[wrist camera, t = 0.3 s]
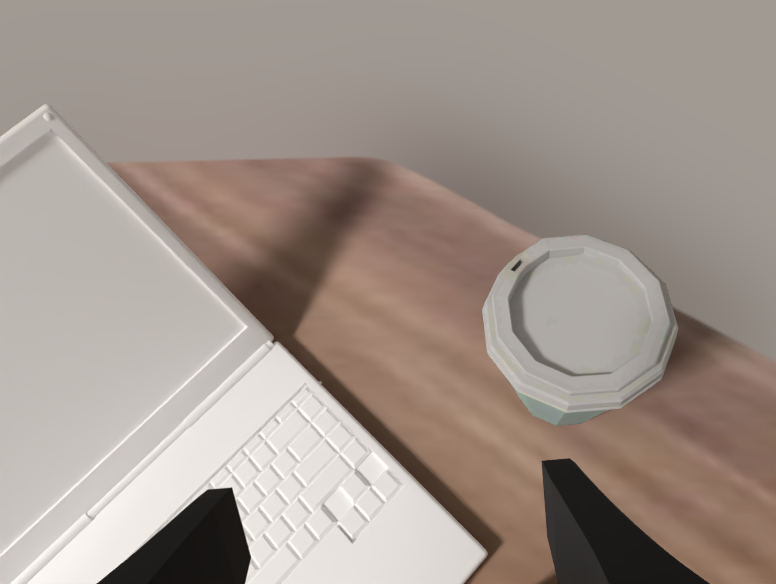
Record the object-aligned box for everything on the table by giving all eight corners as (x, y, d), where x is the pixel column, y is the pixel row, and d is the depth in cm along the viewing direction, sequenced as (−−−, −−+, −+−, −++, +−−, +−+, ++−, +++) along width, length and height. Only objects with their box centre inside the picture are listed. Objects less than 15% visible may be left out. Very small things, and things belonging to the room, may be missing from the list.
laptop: (158, 947, 33) (-384, 1535, 13) (-49, 508, 48) (-446, 458, 28) (490, 551, 39) (481, 523, 19) (214, 274, 54) (46, 96, 34)
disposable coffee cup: (659, 379, 42) (730, 289, 29) (574, 490, 40) (610, 446, 27) (542, 301, 47) (558, 193, 34) (459, 396, 44) (442, 320, 31)
